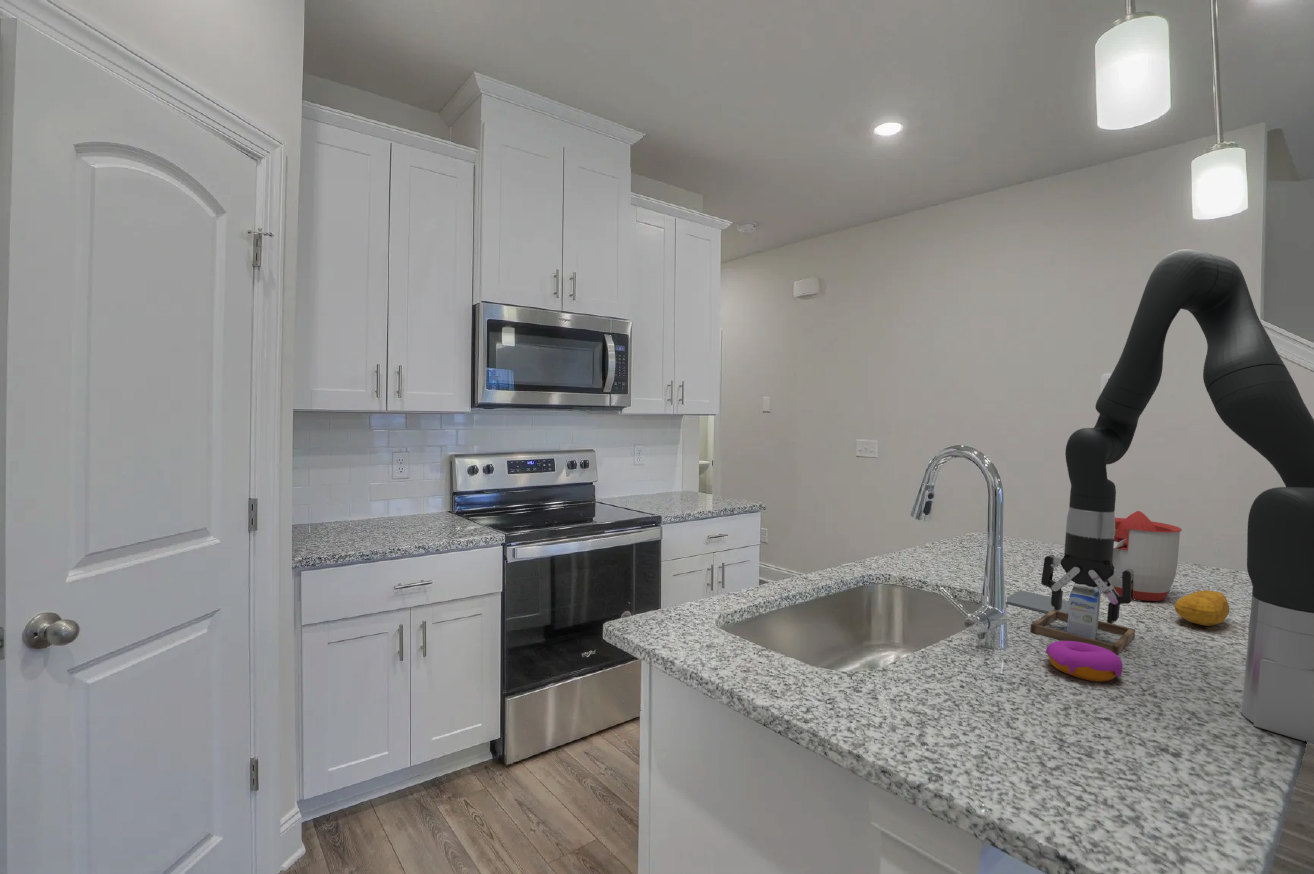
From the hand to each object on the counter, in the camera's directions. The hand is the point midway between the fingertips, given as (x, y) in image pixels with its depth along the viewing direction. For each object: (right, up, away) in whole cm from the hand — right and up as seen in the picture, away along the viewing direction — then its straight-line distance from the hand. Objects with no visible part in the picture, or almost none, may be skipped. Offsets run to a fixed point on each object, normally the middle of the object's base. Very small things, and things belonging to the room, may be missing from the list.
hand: (1083, 615), depth 116 cm
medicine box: (0, -4, 0) cm, 4 cm away
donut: (-12, -5, -17) cm, 21 cm away
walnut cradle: (0, -4, 0) cm, 4 cm away
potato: (+30, -4, +8) cm, 32 cm away
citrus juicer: (+30, -3, +27) cm, 40 cm away
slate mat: (+3, -3, +18) cm, 18 cm away
